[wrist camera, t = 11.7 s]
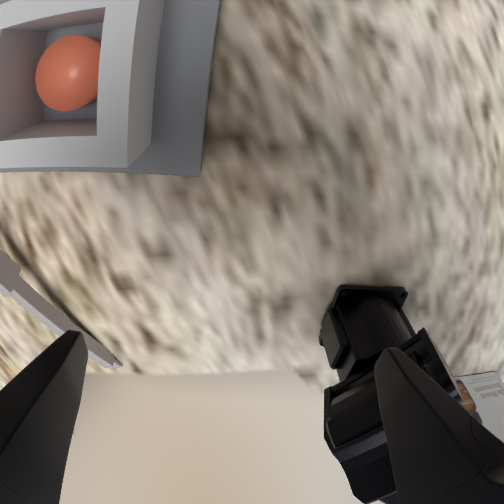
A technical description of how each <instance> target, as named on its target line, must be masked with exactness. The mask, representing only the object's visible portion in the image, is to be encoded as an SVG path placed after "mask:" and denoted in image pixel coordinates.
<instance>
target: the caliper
mask: <svg viewBox="0 0 504 504" xmlns="http://www.w3.org/2000/svg"><path fill="white" fill-rule="evenodd" d="M20 269H21V267H20V266H19V265H18V264H17V263H15V262H14V261H13V260H12V259H11V258H10V256H9V255H8V254H7V253H5V252H3V251H2V250H0V293H1V294H2V295H4V296H6V295H8V294H9V295H10V296H11V297H12V298H13V299H15V300H16V301H17V302H18V303H19V304H20V305H21V306H23V307H24V308H25V309H26V310H27V311H29V312H30V313H31V314H32V315H33V316H35V317H36V318H37V319H38V320H40V321H41V322H42V323H43V324H45V325H46V326H47V327H48V328H50V329H51V330H52V331H54V332H55V333H56V334H58V335H59V336H61V335H62V334H64V333H65V332H66V331H67V330H70V329H71V330H77V331H81V332H82V333H83V336H84V339H85V342H86V346H87V349H88V357H90V358H91V359H93V360H94V361H96V362H97V363H99V364H100V365H102V366H103V367H105V368H108V367H112V368H118V367H122V366H123V364H122V363H121V362H119V361H118V360H116V359H115V358H114V355H113V354H112V353H111V352H110V351H109V350H108V349H106V348H105V347H104V346H103V345H102V344H101V343H99V342H98V341H96V340H95V339H94V338H92V337H91V336H90V335H88V334H87V333H86V332H84V331H83V330H82V329H80V328H79V327H78V326H77V325H75V324H74V323H73V322H72V321H70V320H69V319H68V318H67V317H65V316H64V315H63V314H62V313H60V312H59V311H58V310H57V309H56V308H54V307H53V306H52V305H51V304H50V303H49V302H47V301H46V300H45V299H44V298H43V297H42V296H41V295H40V294H38V293H37V292H36V291H35V290H34V289H33V288H32V287H31V286H30V285H29V284H27V283H26V282H25V281H24V280H23V279H22V278H21V277H20V276H19V272H20Z"/></svg>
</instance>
